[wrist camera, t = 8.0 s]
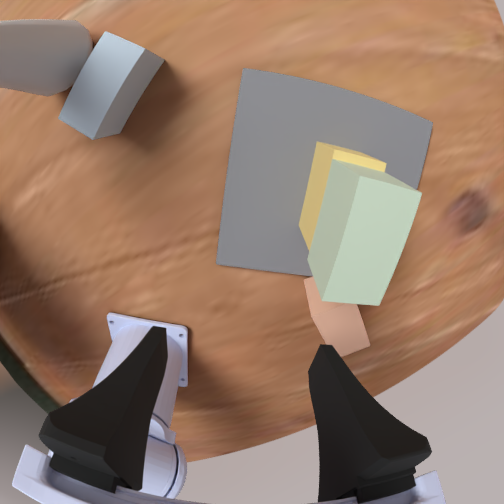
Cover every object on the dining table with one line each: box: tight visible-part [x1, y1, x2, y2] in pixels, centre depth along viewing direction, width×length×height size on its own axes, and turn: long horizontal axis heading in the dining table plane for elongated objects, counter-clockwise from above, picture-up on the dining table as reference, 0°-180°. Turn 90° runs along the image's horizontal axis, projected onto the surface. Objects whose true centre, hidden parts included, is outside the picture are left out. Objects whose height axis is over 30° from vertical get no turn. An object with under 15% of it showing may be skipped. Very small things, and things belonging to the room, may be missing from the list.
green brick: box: [307, 159, 422, 306], centre depth 13 cm, size 6×3×4 cm, turn 171°
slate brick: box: [58, 31, 165, 140], centre depth 14 cm, size 6×3×4 cm, turn 144°
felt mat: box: [216, 68, 433, 276], centre depth 19 cm, size 14×14×1 cm
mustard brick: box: [299, 142, 387, 251], centre depth 17 cm, size 6×3×4 cm, turn 171°
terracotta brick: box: [304, 276, 371, 357], centre depth 21 cm, size 6×3×4 cm, turn 28°
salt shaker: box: [0, 19, 93, 96], centre depth 8 cm, size 6×6×13 cm
